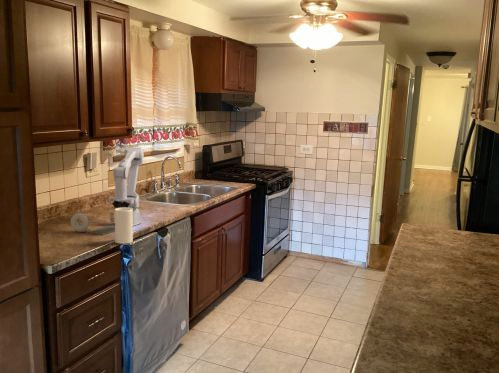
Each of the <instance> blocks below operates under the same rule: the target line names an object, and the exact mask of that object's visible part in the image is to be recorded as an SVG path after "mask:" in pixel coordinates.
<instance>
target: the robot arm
mask: <svg viewBox="0 0 499 373" xmlns="http://www.w3.org/2000/svg"><path fill="white" fill-rule="evenodd" d="M123 155H124V158H123V159H121V160H120V162H119V164H118V166H116V167H114V168H113V173H112V175H113V181H114V183H115V184H114V187H115V188H114V190H115V191H114V192H115V193H114V195H115V196H109V197H108V202H112V205H113V207H114V210H115V209H116V208H122V207H127V208H128V207H130V208H132V209H133V227H134V226H136V225H137V226H138V225H140V224H142V222H141V220H140V219H141V218H140V217H141V213H140V209H139V206H140V195H139V194H138V193H137V192H136V190H137V183H138V174H139V170H140V169H139V168H140V165H142V164H143V162H144V155H145V151H144V148H143V147H133V146H132V147H130V146H126V147H125V148H124V150H123Z"/></svg>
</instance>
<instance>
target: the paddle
mask: <svg viewBox="0 0 499 373" xmlns="http://www.w3.org/2000/svg"><path fill="white" fill-rule="evenodd" d="M128 208H130V207H128ZM109 222H110V223H115V210H113V211H110V212H109Z"/></svg>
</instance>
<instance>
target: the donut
mask: <svg viewBox="0 0 499 373" xmlns="http://www.w3.org/2000/svg"><path fill="white" fill-rule="evenodd" d="M79 220H80V221H81V225H80V223H79V222H78V221H79ZM70 225H71V227H72V229H73V230H74V231H76V232H78V233H83V232H85V231H87V230H88V228H89V226H90V221H89V218H88V216H87V215H86V214H84V213H82V212H77V213H74V214H73V215H72V217H71V218H70Z"/></svg>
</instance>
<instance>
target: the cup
mask: <svg viewBox="0 0 499 373" xmlns="http://www.w3.org/2000/svg"><path fill="white" fill-rule="evenodd" d="M114 211H115V222H114V225H115V231H114V240H115V241H114V243H116V244H130V243H132V242H134V241H133V238H134V237H133V236H134V233H133V232H134V228H133V227H134V226H133V209H132V208H127V207H122V208H116V209H115V208H114Z"/></svg>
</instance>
